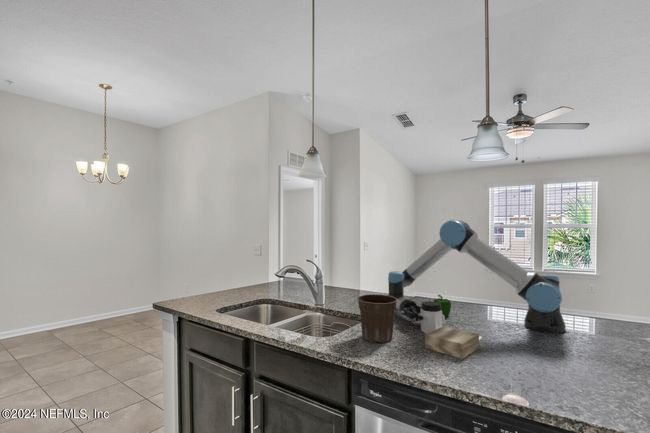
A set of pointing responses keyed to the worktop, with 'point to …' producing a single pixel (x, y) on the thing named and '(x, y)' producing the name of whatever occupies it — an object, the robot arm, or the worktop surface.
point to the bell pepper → (444, 305)
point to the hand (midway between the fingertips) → (436, 319)
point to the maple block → (452, 341)
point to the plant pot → (377, 317)
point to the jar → (431, 316)
